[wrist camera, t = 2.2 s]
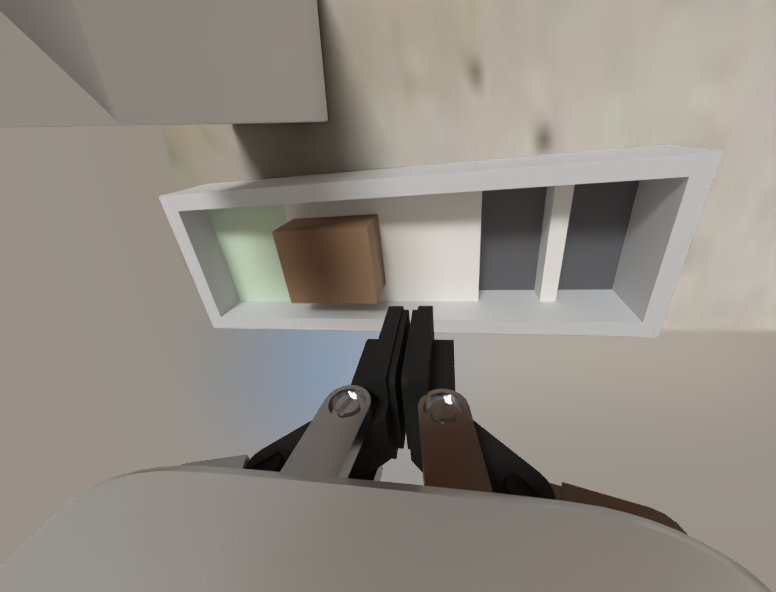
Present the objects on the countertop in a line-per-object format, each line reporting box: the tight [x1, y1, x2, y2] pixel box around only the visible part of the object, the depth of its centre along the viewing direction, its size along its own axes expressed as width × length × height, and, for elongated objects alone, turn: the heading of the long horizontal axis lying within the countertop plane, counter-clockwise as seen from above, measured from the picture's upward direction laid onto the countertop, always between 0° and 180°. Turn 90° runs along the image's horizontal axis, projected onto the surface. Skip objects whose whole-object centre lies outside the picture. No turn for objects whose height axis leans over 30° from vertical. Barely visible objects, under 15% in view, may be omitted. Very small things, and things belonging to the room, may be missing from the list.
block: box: [272, 214, 386, 304], centre depth 21 cm, size 6×5×3 cm
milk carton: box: [0, 0, 328, 128], centre depth 11 cm, size 7×7×19 cm
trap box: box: [159, 144, 723, 337], centre depth 21 cm, size 30×10×4 cm, turn 96°
